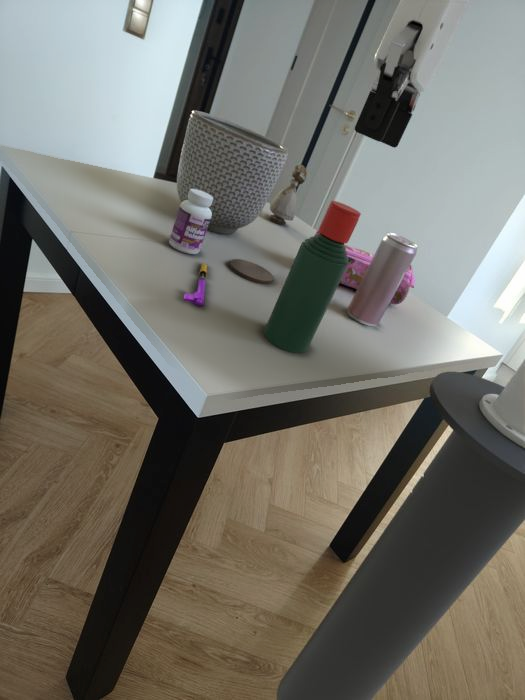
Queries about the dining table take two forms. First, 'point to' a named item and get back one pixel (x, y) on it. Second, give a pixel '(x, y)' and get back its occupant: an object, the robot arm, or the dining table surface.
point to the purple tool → (199, 295)
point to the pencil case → (359, 266)
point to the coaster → (251, 271)
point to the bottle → (306, 293)
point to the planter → (228, 169)
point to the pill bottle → (192, 222)
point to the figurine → (287, 198)
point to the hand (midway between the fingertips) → (376, 139)
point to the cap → (339, 222)
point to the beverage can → (382, 279)
